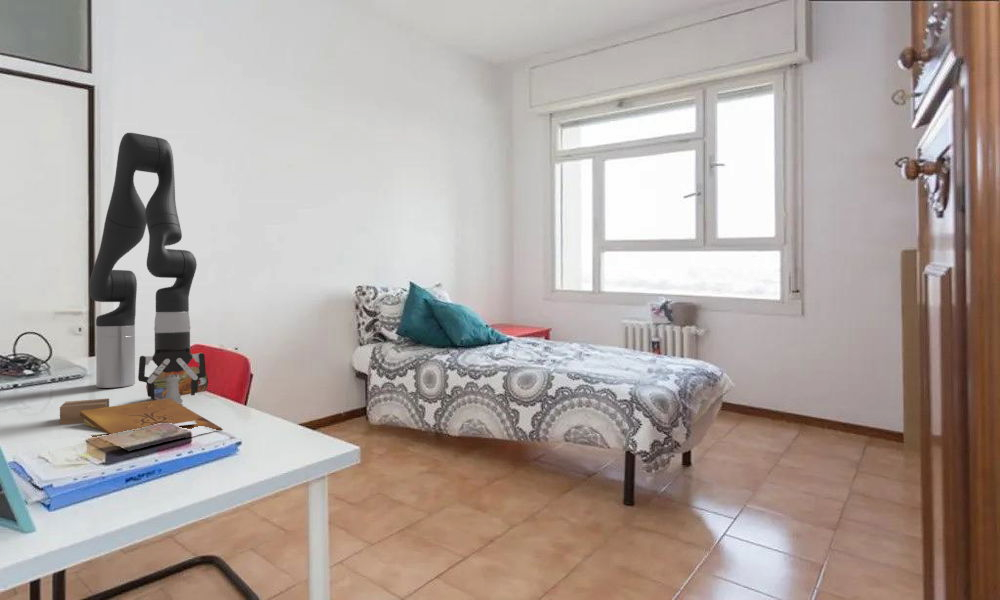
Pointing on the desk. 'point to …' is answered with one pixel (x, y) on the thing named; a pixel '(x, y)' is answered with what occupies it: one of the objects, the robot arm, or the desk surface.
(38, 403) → the desk surface
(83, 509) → the desk surface
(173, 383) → the rook chess piece
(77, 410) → the walnut block
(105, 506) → the desk surface
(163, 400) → the diary
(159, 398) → the tin
